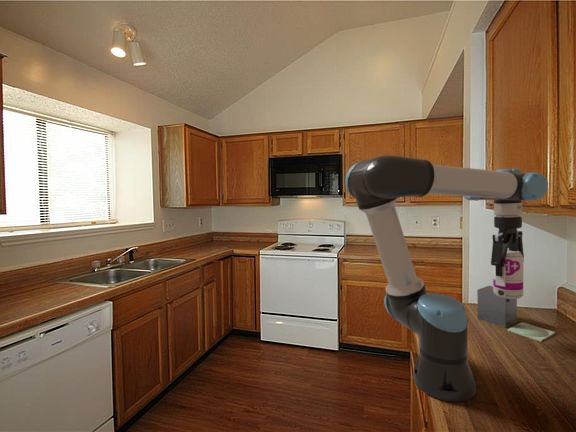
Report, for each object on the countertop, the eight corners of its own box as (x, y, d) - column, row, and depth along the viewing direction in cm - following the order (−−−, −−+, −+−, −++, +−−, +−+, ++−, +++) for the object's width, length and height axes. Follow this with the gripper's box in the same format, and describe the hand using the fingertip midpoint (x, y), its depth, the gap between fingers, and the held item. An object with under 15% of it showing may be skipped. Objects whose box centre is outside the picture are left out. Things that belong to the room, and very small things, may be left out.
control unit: (506, 328, 113) (506, 296, 112) (477, 319, 122) (477, 289, 121) (518, 322, 117) (518, 292, 116) (489, 314, 126) (489, 285, 125)
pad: (540, 341, 102) (540, 339, 102) (507, 330, 111) (507, 328, 111) (554, 333, 107) (554, 331, 107) (522, 323, 116) (522, 321, 116)
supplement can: (523, 301, 98) (523, 255, 97) (492, 297, 103) (492, 253, 102) (523, 293, 105) (523, 250, 103) (494, 290, 110) (493, 248, 108)
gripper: (502, 219, 94) (502, 292, 95) (537, 213, 103) (536, 279, 105) (477, 218, 100) (478, 286, 102) (512, 213, 110) (512, 275, 112)
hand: (507, 282), depth 104 cm, fingers closed on supplement can, 8 cm apart
